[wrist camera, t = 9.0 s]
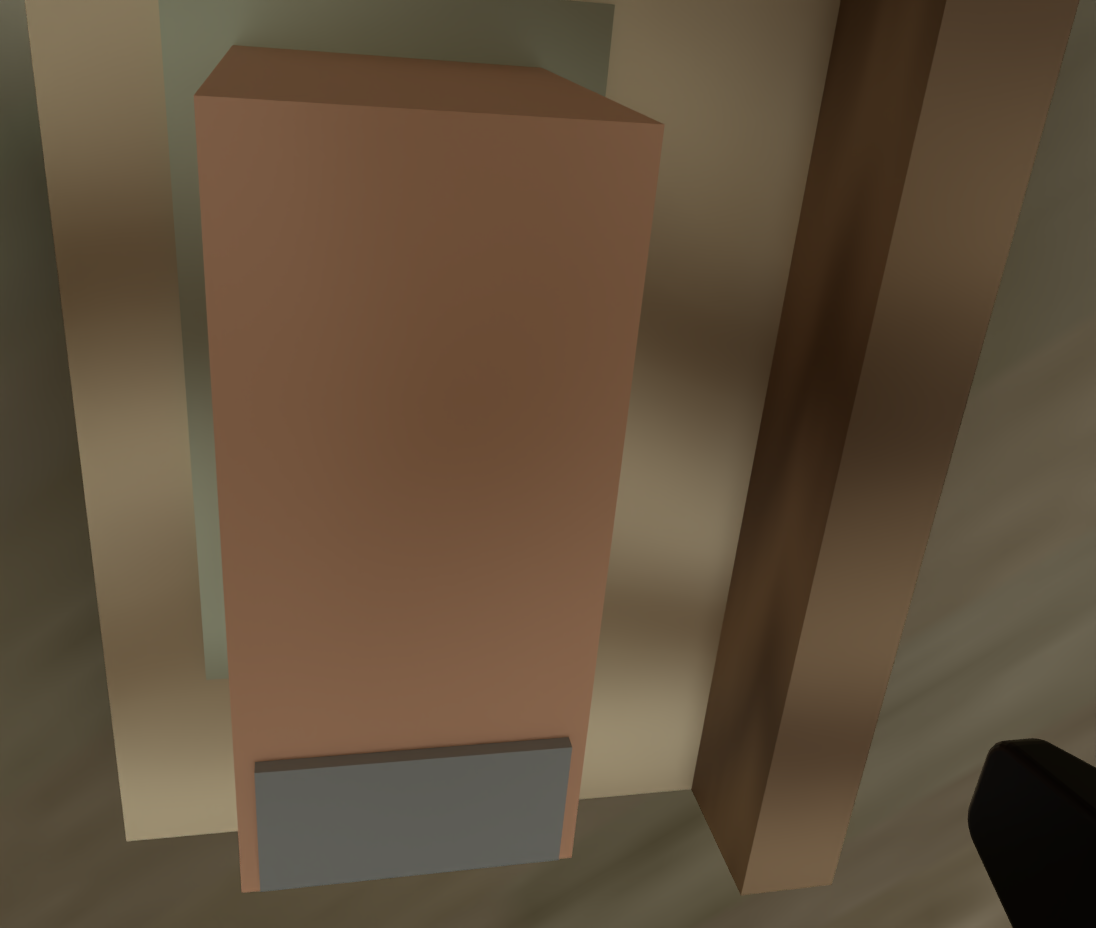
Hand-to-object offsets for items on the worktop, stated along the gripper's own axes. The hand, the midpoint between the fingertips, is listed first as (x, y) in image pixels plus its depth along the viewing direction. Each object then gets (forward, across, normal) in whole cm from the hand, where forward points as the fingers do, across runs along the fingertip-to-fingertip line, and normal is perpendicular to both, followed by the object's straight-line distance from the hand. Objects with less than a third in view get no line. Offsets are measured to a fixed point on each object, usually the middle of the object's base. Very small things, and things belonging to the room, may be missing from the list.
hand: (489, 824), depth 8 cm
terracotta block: (+10, 0, 0) cm, 10 cm away
